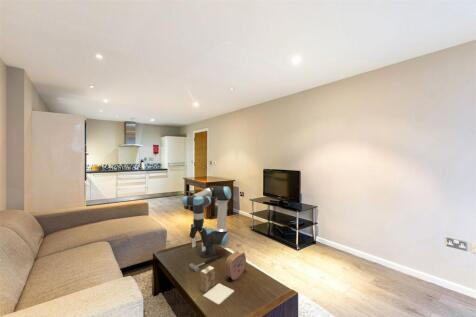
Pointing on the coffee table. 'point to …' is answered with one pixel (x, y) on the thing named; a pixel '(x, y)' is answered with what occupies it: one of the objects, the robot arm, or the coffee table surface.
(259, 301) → the coffee table surface
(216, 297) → the felt mat
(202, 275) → the wooden block
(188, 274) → the coffee table surface
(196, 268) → the rubber mallet
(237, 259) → the face sculpture
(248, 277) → the coffee table surface
